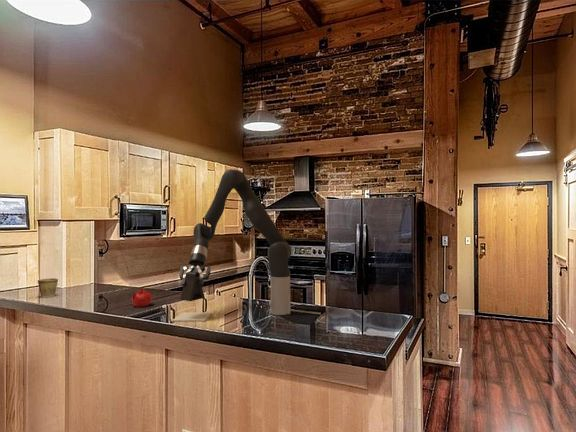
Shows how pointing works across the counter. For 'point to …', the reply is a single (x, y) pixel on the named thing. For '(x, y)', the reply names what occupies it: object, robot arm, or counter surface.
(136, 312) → the counter surface
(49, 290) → the ceramic cup
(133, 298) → the pomegranate
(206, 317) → the board
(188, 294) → the phone stand
